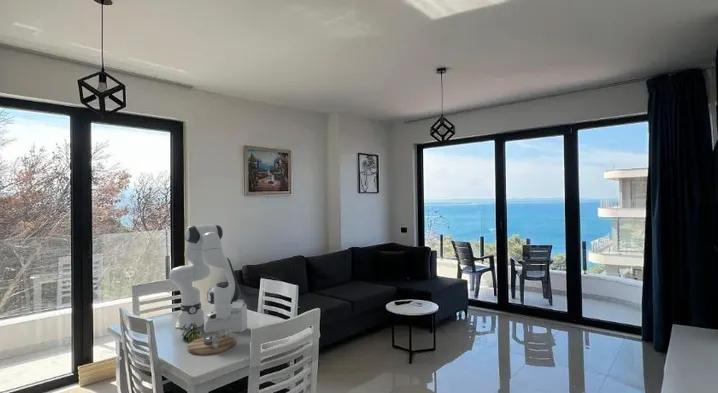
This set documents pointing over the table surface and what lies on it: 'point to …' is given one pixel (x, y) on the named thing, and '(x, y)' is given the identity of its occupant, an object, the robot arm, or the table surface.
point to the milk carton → (242, 307)
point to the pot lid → (208, 340)
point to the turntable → (216, 347)
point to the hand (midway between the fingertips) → (223, 337)
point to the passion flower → (190, 329)
